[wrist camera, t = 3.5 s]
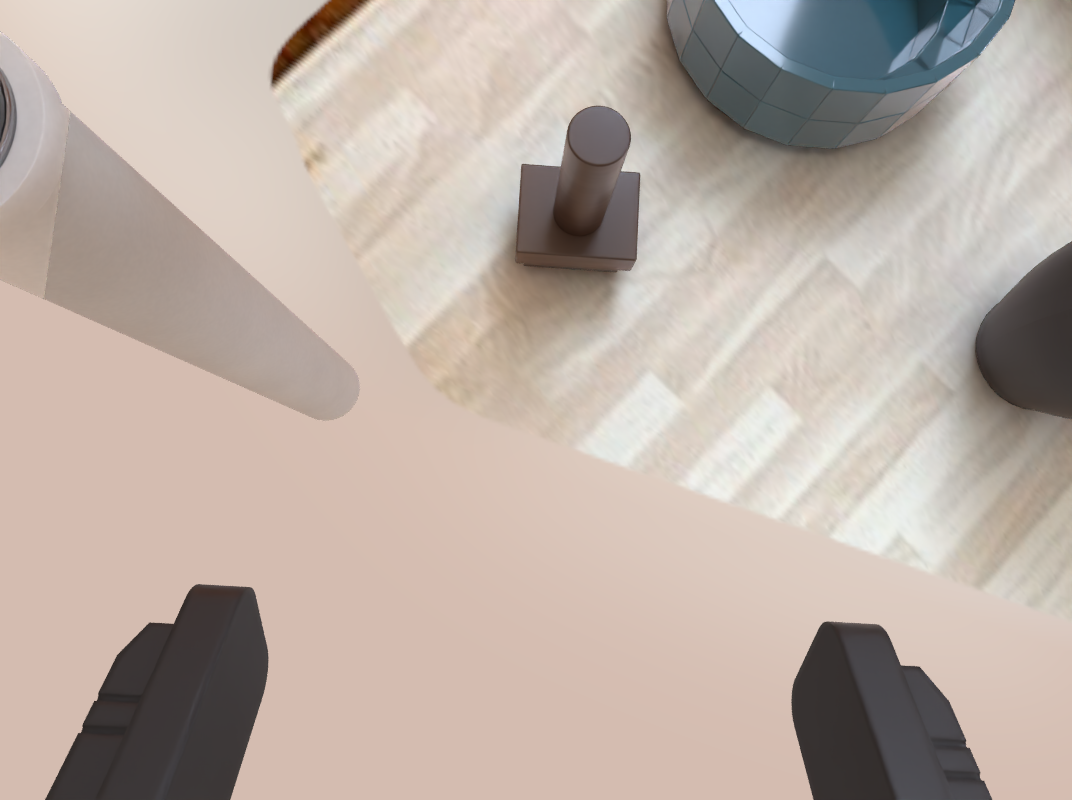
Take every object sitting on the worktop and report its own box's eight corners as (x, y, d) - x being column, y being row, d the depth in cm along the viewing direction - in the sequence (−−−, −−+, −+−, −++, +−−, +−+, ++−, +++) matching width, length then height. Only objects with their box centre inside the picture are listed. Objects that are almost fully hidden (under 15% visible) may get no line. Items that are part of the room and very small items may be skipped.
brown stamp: (514, 273, 37) (519, 185, 27) (519, 191, 38) (526, 74, 27) (625, 281, 37) (672, 197, 27) (628, 199, 38) (676, 86, 27)
